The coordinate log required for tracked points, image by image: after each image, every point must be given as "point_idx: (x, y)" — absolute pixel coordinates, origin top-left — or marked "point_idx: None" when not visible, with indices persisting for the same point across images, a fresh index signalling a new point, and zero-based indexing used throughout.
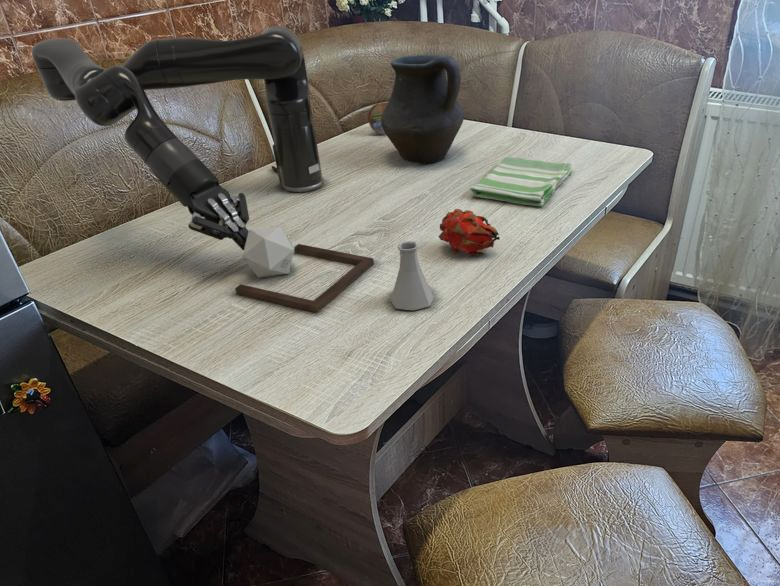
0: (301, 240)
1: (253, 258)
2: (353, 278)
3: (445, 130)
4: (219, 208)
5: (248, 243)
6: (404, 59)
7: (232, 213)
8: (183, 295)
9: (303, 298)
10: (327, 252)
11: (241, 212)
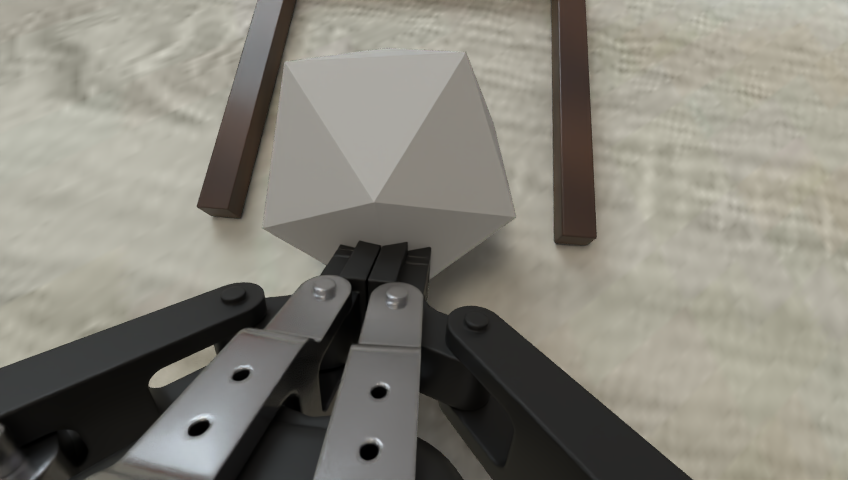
0: (129, 251)
1: (503, 167)
2: None
3: None
4: (339, 460)
5: (464, 186)
6: None
7: (291, 344)
8: (688, 457)
9: (559, 5)
10: (255, 77)
11: (190, 339)
